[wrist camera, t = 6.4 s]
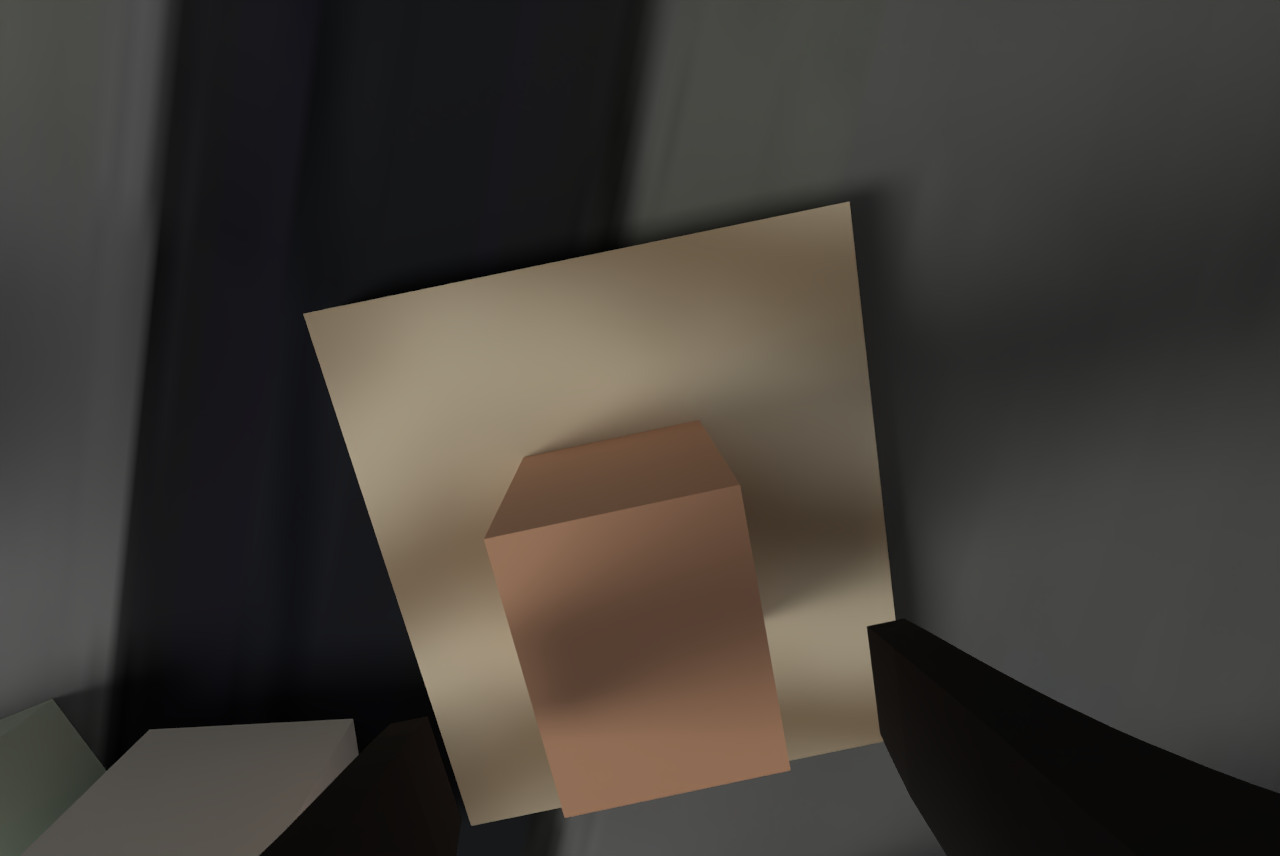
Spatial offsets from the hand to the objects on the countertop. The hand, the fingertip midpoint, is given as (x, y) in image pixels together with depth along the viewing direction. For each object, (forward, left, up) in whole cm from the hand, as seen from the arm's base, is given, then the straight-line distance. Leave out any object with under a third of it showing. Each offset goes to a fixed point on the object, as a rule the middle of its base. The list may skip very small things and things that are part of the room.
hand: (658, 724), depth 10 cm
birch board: (0, 0, -8) cm, 8 cm away
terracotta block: (0, 0, -7) cm, 7 cm away
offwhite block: (-6, +13, -8) cm, 16 cm away
